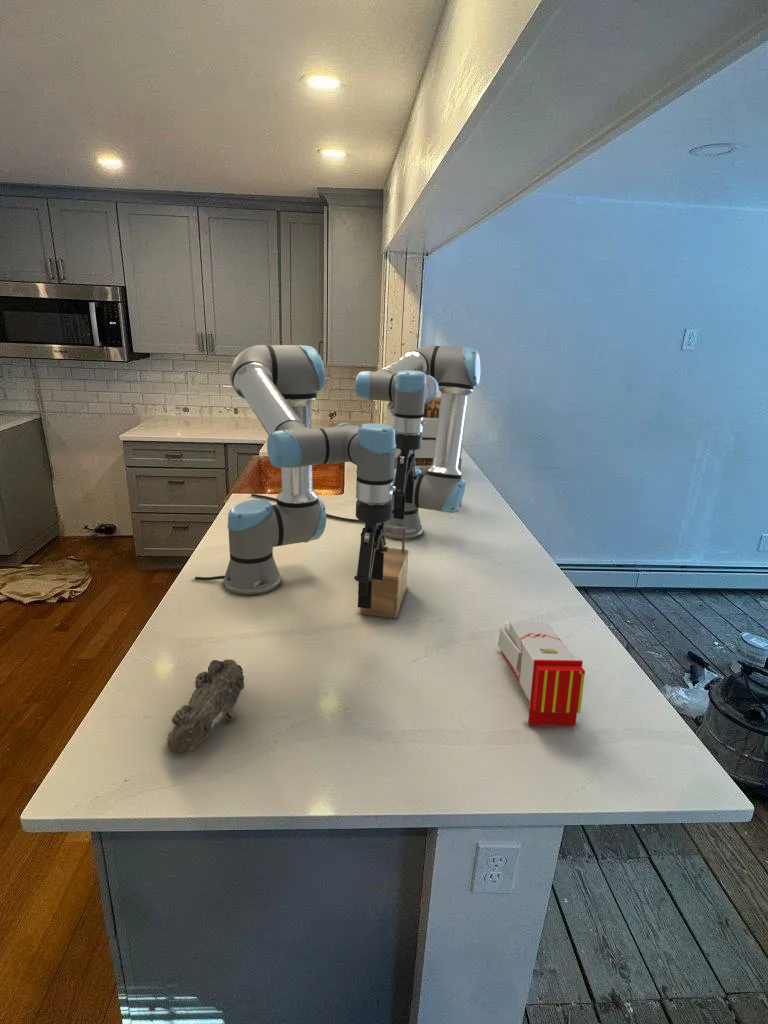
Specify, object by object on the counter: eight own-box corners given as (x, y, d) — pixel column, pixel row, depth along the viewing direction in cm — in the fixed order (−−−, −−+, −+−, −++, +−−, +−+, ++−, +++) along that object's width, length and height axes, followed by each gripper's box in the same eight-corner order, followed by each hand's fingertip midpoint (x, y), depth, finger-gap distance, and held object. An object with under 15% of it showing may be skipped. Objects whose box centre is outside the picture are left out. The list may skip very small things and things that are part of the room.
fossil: (192, 660, 117) (244, 628, 112) (224, 691, 120) (276, 661, 115) (142, 746, 98) (202, 712, 93) (182, 779, 101) (242, 748, 96)
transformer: (382, 463, 289) (386, 382, 275) (445, 464, 293) (451, 384, 279) (390, 482, 257) (394, 392, 243) (460, 483, 261) (468, 394, 247)
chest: (374, 584, 163) (375, 550, 159) (406, 588, 161) (408, 554, 158) (360, 613, 147) (361, 576, 143) (396, 618, 145) (398, 581, 142)
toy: (544, 607, 134) (594, 667, 105) (539, 659, 137) (586, 732, 108) (493, 606, 134) (529, 666, 105) (489, 658, 137) (523, 731, 107)
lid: (375, 549, 160) (376, 521, 157) (408, 553, 158) (410, 525, 155) (361, 576, 143) (362, 545, 140) (398, 580, 142) (399, 550, 139)
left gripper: (381, 522, 105) (377, 623, 112) (401, 484, 128) (396, 570, 135) (341, 518, 106) (340, 618, 113) (368, 481, 129) (365, 566, 136)
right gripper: (414, 444, 134) (409, 527, 141) (428, 425, 157) (423, 497, 164) (383, 441, 135) (379, 524, 142) (402, 422, 158) (398, 495, 166)
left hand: (370, 592), depth 124 cm, fingers open, 13 cm apart
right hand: (403, 510), depth 153 cm, fingers open, 13 cm apart
